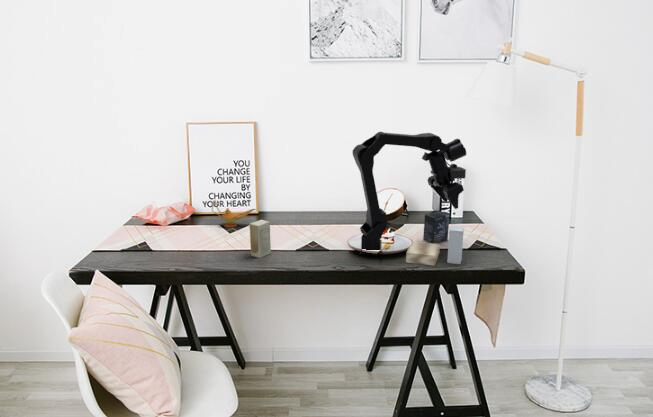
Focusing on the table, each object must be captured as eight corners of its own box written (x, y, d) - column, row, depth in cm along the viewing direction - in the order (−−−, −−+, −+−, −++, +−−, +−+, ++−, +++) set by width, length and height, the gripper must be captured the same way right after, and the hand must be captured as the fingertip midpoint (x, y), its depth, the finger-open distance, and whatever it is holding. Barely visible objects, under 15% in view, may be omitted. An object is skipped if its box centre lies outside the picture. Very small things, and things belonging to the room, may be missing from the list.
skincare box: (262, 250, 225) (261, 218, 221) (271, 253, 222) (270, 221, 219) (250, 255, 220) (248, 223, 217) (258, 258, 218) (257, 225, 214)
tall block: (447, 262, 215) (449, 230, 211) (448, 258, 219) (450, 226, 215) (460, 264, 213) (462, 231, 210) (461, 259, 217) (463, 227, 214)
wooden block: (405, 263, 215) (406, 252, 214) (411, 251, 226) (412, 241, 225) (434, 266, 212) (435, 255, 211) (439, 254, 223) (439, 244, 222)
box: (433, 244, 232) (434, 217, 229) (422, 240, 237) (424, 213, 234) (448, 240, 237) (450, 214, 234) (437, 236, 241) (439, 210, 238)
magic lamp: (256, 227, 251) (255, 201, 247) (211, 228, 249) (210, 202, 246) (257, 222, 257) (256, 196, 254) (213, 223, 256) (212, 197, 253)
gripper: (470, 163, 213) (482, 203, 218) (448, 152, 230) (459, 189, 236) (442, 176, 212) (454, 215, 217) (421, 164, 229) (433, 201, 235)
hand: (451, 204), depth 226 cm, fingers open, 9 cm apart
